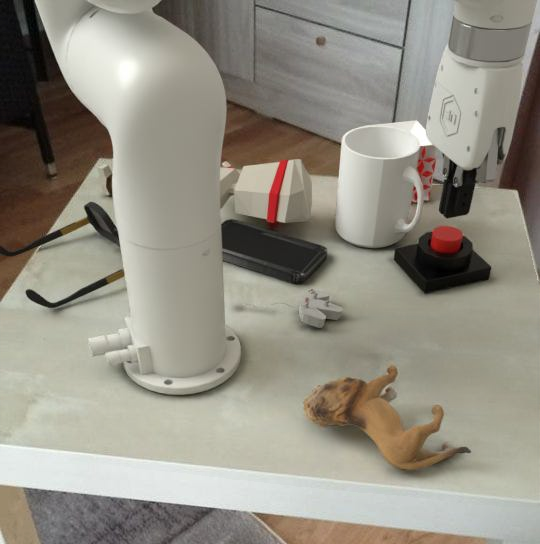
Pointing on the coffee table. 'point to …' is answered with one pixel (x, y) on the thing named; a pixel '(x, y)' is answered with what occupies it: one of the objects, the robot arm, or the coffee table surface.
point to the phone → (270, 251)
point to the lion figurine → (377, 419)
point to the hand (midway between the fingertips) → (453, 213)
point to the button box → (441, 265)
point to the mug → (377, 186)
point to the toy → (258, 190)
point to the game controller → (316, 308)
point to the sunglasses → (94, 217)
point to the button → (446, 239)
